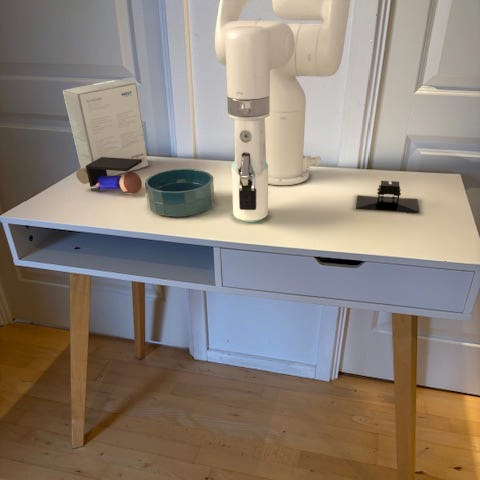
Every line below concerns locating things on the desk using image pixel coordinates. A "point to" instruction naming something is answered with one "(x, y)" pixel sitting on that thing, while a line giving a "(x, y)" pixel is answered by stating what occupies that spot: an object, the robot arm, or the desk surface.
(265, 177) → the can
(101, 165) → the figurine character
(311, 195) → the desk surface
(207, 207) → the bowl
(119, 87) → the hard drive box
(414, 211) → the build plate
